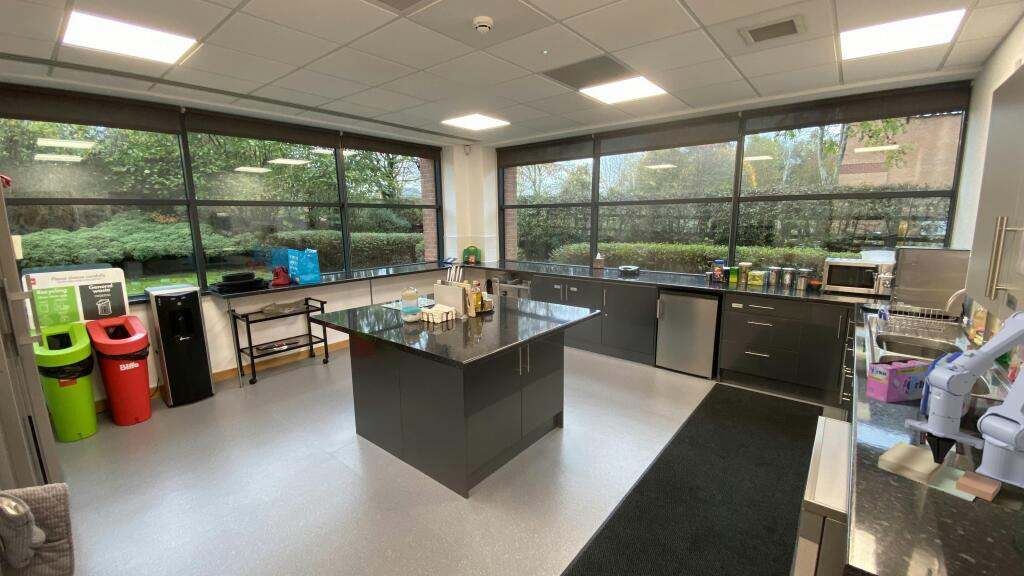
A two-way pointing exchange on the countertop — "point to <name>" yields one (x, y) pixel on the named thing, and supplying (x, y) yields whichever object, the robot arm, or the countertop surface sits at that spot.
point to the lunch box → (926, 393)
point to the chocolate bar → (955, 449)
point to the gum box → (896, 380)
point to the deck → (911, 462)
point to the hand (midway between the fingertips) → (938, 462)
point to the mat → (950, 483)
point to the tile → (978, 485)
